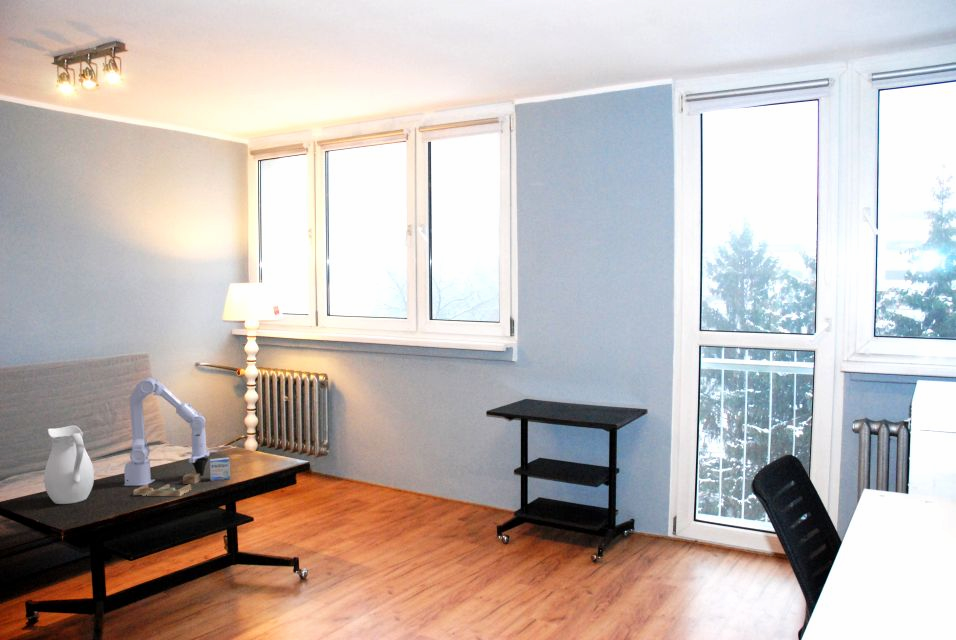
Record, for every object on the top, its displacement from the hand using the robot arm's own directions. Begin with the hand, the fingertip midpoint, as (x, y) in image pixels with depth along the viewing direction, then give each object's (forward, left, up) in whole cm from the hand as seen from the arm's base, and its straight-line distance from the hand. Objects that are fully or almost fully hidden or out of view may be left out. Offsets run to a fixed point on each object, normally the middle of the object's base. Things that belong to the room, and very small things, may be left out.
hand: (200, 475), depth 320 cm
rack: (-5, -23, -1) cm, 23 cm away
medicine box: (+9, -2, -1) cm, 10 cm away
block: (0, -8, -1) cm, 8 cm away
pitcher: (-34, -36, -1) cm, 49 cm away
